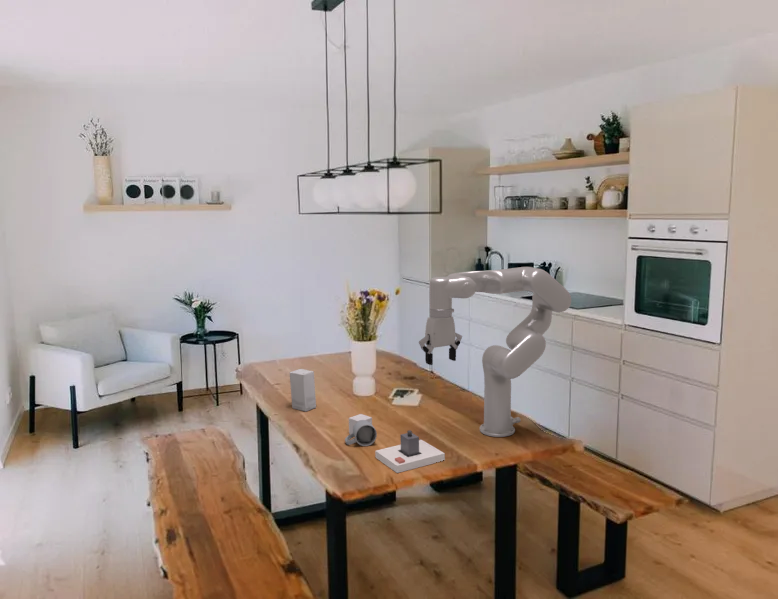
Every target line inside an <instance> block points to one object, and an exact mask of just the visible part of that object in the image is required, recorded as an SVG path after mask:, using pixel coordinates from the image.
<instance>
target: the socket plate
mask: <svg viewBox="0 0 778 599" xmlns="http://www.w3.org/2000/svg"><path fill="white" fill-rule="evenodd" d="M374 454H375V459H377V461H379V462H381V463H382V464H384V465H385V466H386V467H388V468H389V469H391V470H392V471H393V472H395V473H396V474H400V473H402V472H406V471H411V470H414V469H417V468H421V467H426V466H429V465H432V464H436V462H437V463H439V462H440V461H441V462H444V461H445V460H446V458H445V455H446V454H445V452H443V451H441V450H440V449H438V448H436V447H435V446H434V445H431V444H430V443H428V442H426V441H425V440H423V439H419V455H415V456H411V457H407V456H405V455H404V454H402V453H401V444H397V445H394V446H388V447H386V448H381V449H376V450H375V451H374ZM443 460H444V461H443Z"/></svg>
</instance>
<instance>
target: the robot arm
mask: <svg viewBox="0 0 778 599" xmlns="http://www.w3.org/2000/svg"><path fill="white" fill-rule="evenodd" d="M524 291H525V292H527V291H528V292H532V293H533V294H532V297H531V298H532V299H531V302H532V304H531V306H532V307H531V310H530V313H528V315H527V316H526V317H525V318H524V319H523V320H522V321H521V322H520V323H519V324H517V325H516V326H515V327H514V328H513V329H512V330H511V331H510V332H509V333H508V334H507V335H506V339H505V343H506V346H507V347H508V348H509V349H508V348H506V347H505V346H502V345H497V344H494V345H490V346H488V347H487V348H486V349H485V350H484V352H483V354H482V359H481V363H482V369H483V380H484V382H483V384H484V390H483V392H484V394H483V395H484V397H483V399H484V402H483V403H484V404H483V423H482V424H480V426H479V432H480V433H481V434H484V435H485V436H487V437H488V436H489V437H495V438H503V437H510V436H512V435H514V433H515V432H516V429H515V426H513V425H515V424H518V423H520V422H521V417H520V416H516V417H513V416H512V415H511V412H512V409H511V408H512V380H513V379H516V378H518V377H520V376H521V375H522V374H523V373H524V372H525V371H527V370H528V369H529V368H530V367H532V366H533V364H534V363H535V362H536V361H538V360H539V359H540V357H541V356H542V355H543V354H544V352H545V350H546V347H547V346H546V345H547V343H546V338H545V337H544V334H545V333H546V332H547V331H548V330H549V328H550V326H551V324H552V318H553V316H552V315H553V312H555V313H563V312H565V311H568V309H569V308H570V306H571V304H572V296H571V294H570V292H569V290H567V289H566V288H565V287H564V286H563V285H562V284H561V283H560V282H558V281H557V279H555V277H553V276H552V275H551V274H550V273H549V272H547V271H545V270H544V269H542V268H537V267H533V266H521V267H518V266H517V267H512V268H501V269H490V270H489V269H488V270H475V271H474V270H473V271H472V270H471V271H462V272H460V271H459V272H454V273H453V272H452V273H449V274H448V275H446V276H434V277H432V278H430V280H429V317H427V319H426V323H425V324H426V325H425V331H424V332H425V333H424V334H425V336H424V337H423V338H422V339H420V340H419V341H418V345H419V346H420V348H421V350H422V351H423V352H424V354H425V355H424V356H425V363H426V365H429V366H432V365H433V361H434V360H433V357H434V356H433V353H432V352H433V351H434V349H435V348H441V347H448V346H449V348H448V359H449V360H450V361H452V362H455V361H457V360H456V359H457V350H458V348H459V345H460V344H461V340H462V338H463V335H461V334H459V333H457V332H456V325H455V321H454V320H455V319H454V316H453V313H455V309H454V308H453V299H469V298H471V297H472V296H474V294H475V293H485V294H492V295H495V294H496V295H498V294H499V295H501V294H509V293H515V292H524Z"/></svg>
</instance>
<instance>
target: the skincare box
mask: <svg viewBox="0 0 778 599" xmlns="http://www.w3.org/2000/svg"><path fill="white" fill-rule="evenodd" d="M289 382H290V396H291V407H292V409H294V410H297V411H298V410H299V411H302V412H308V411H311V410H314V409H316V408H317V399H316V385H315V371H313V370H311V369H310V370H308V369H304V368H299V369H296V370H293V371H290V372H289Z"/></svg>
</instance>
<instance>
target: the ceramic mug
mask: <svg viewBox="0 0 778 599" xmlns="http://www.w3.org/2000/svg"><path fill="white" fill-rule="evenodd" d="M377 434H378V433H377V429H376V427H374V425H373V423H372V424H371V423H370V422H369V421H367V420H359V421H358V422H356V423H355V425H354V427H353V433H352V434H349V435H347V436H346V437H345V438H344V442H345V444H346V445H348V446H349V445H350V446H351V445H353V444H355V443H357V444H358V445H359V446H362V447H370V446H371V445H373V444H374V442H376V439H377V436H378V435H377Z"/></svg>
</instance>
